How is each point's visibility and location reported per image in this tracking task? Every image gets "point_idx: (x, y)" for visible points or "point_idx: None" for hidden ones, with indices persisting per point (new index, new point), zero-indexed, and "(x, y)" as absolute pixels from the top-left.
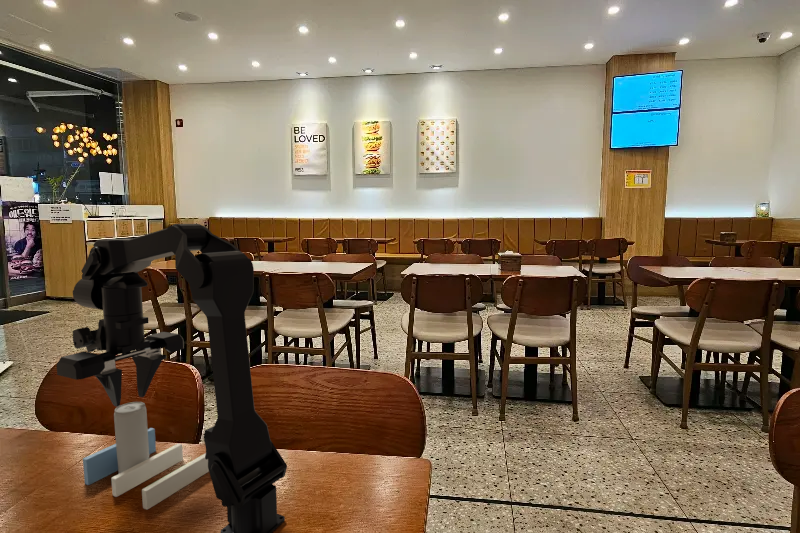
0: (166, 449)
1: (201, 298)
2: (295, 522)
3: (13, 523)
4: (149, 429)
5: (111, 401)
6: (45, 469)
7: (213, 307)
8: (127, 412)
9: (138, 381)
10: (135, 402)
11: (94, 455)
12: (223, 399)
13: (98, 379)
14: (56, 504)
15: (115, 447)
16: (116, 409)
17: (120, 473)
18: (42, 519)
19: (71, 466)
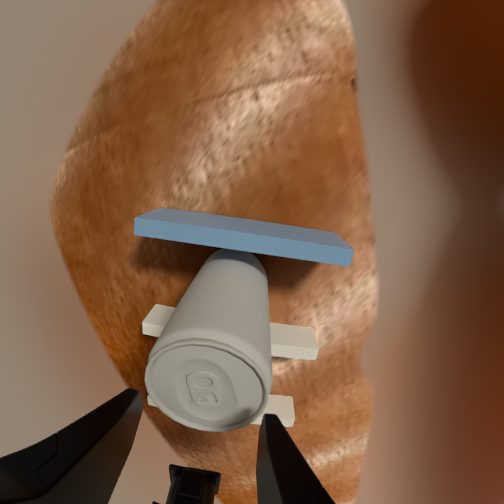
0: (284, 345)
1: None
2: (219, 495)
3: (51, 207)
4: (342, 255)
5: (113, 399)
6: (179, 56)
7: None
8: (164, 413)
9: (271, 478)
10: (259, 376)
11: (156, 235)
12: None
13: (2, 459)
14: (98, 223)
15: (216, 246)
16: (167, 351)
17: (160, 328)
18: (71, 244)
19: (206, 97)
